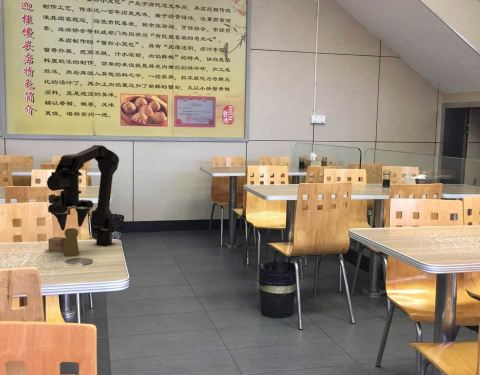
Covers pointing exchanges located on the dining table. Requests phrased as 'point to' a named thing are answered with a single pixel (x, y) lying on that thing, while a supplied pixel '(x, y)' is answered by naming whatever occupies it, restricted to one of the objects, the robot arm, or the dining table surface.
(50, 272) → the dining table surface
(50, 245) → the walnut cube
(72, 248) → the brown rounded piece
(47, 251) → the coaster
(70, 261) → the coaster empty
